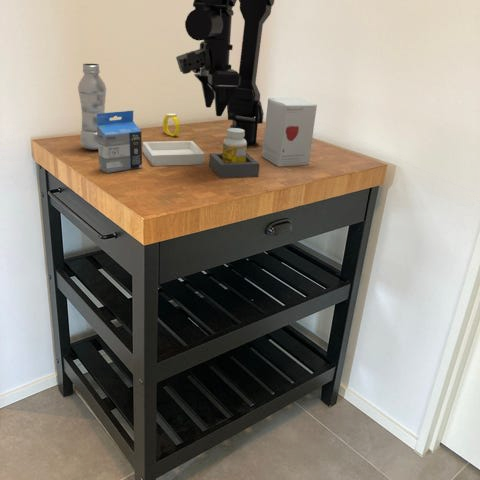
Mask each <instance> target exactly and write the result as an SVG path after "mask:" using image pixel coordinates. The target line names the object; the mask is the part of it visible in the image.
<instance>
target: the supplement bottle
mask: <svg viewBox="0 0 480 480" xmlns="http://www.w3.org/2000/svg"><path fill="white" fill-rule="evenodd" d="M226 136H227V137H226V138H224V139H223V141H222V142H223V143H222V153H223V159H222V161H223V162H225V163H241V162H246V153H247V147H248V146H247V142H246V140H245V139H243V137H244V136H245V131H244V130H243V129H239V128H230V127H229V128H226Z"/></svg>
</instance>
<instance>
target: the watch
mask: <svg viewBox="0 0 480 480" xmlns="http://www.w3.org/2000/svg"><path fill="white" fill-rule="evenodd" d="M170 118H171V119H172V120H173V121H174V122H173V123H174V125H175V126H174V129H175V130H174V132H173V133H172V132H171V131H170V130H169V125H168V122H169V119H170ZM162 126H163V131H164V133H165V134H166V135H168V136H170V137H177V136H178V135H179V133H180V130H181V129H180V128H181V126H180V121H179V118H178V117H177V113H171V112H170V113H166V116H164V118H163V121H162Z"/></svg>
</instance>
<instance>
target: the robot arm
mask: <svg viewBox="0 0 480 480" xmlns="http://www.w3.org/2000/svg"><path fill="white" fill-rule="evenodd" d="M237 1H239V12H240V13H241V15H242V18H243V20H244V25H243V33H242V40H241V41H242V42H241V51H240V58H239V60H240V61H239V68H238V71H237V70H235V69H233V68H232V64H230V51H233V44H231V32H232V31H231V30H232V21H233V19H232V16H234V13H235V12H234V10H233V8H234V7H235V5H236V4H237ZM274 4H275V0H193V3H192V7H193V8H194V9H193V10H192V11H190V12H189V13H188V14H187V16H186V19H185V21H184V25H185V31H186V34H188V36H189V37H190V38H191V39H192V40H194V41H200V43H199V48H198V49H196V50H191V51H189V52H185V53H183V54H179V55H176V57H175V58H176V59H175V60H176V61H177V62H176V63H177V65H178V68H179V71H180V72H181V73H182V74H183V75H186V74H190V73H191V72H192V73H194V74H193V75H194V77H195V78H196V80H197V81H199V82H200V84H201V88H202V94H203V98H204V102H205V108H209V109H210V108H212V105H213V103H214V106H215V115H216V117H222V116H223V114H224V111H225V110H226V109H227V111H226V112H227V120H228V121H232V124H230V127H229V128H239V129H243V130H244V131H245V136H244V137H243V139H245V140H246V142H247V147H251V146H259V142H257V135H258V125H259V124H263V123H264V115H265V114H264V110H263V106H262V105H263V104H262V102H261V93H260V91H259V88H258V86H257V83H256V81H257V76H258V75H257V74H258V66H259V58H260V51H261V50H260V49H261V42H262V34H263V33H262V32H263V26H264V24H265V22H266V20H267V19H268V18H269V17H270V15H271V13H272V7H273V6H274Z"/></svg>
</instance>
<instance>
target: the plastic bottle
mask: <svg viewBox="0 0 480 480" xmlns="http://www.w3.org/2000/svg"><path fill="white" fill-rule="evenodd" d="M82 73H83V75H82V78H80V81H79V82H78V87H77V89H78V95H79V96H78V97H79V100H80V108H81V131H80V143H81V145H82V147H83V148H84V149H85V150H86V149H87V150H92V151H96V150H98V136H97V114H98V113H106V112H105V111H106V110H105V108H106V105H105V104H106V96H107V87H106V83H105V82H104V80H103V79H102V77H101V76H100V75H99V74H101V72H100V64H99V63H91V62H90V63H88V62H87V63H82Z"/></svg>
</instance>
